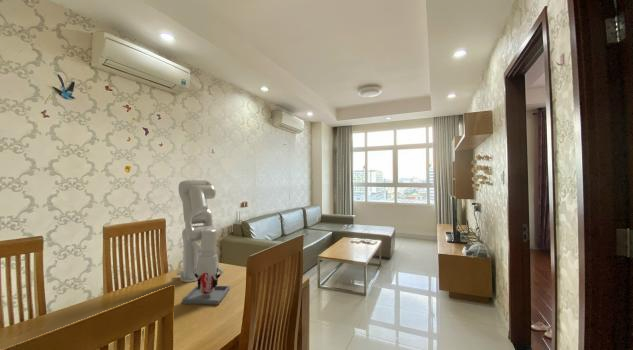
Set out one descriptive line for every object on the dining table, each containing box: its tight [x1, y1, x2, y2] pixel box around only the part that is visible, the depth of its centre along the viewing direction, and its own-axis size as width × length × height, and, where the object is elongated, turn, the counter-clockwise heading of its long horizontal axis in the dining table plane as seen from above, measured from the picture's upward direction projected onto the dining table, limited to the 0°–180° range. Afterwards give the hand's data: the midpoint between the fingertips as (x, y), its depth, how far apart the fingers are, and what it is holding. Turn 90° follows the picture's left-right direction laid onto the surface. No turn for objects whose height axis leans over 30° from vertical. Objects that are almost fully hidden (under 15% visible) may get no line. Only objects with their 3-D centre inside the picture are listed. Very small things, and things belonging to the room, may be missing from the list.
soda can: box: [200, 271, 215, 294], centre depth 132 cm, size 7×7×12 cm
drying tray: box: [181, 284, 231, 306], centre depth 132 cm, size 18×16×2 cm
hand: (207, 286), depth 132 cm, fingers closed on soda can, 7 cm apart
